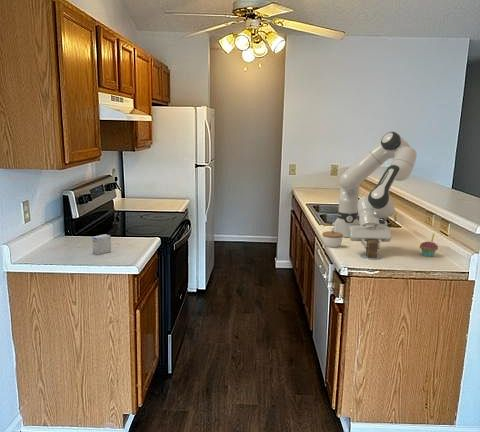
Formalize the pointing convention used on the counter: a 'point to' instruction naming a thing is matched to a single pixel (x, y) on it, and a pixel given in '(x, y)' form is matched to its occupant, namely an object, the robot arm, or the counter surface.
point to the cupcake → (429, 248)
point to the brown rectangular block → (372, 249)
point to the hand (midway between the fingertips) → (372, 248)
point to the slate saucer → (371, 258)
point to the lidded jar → (332, 239)
